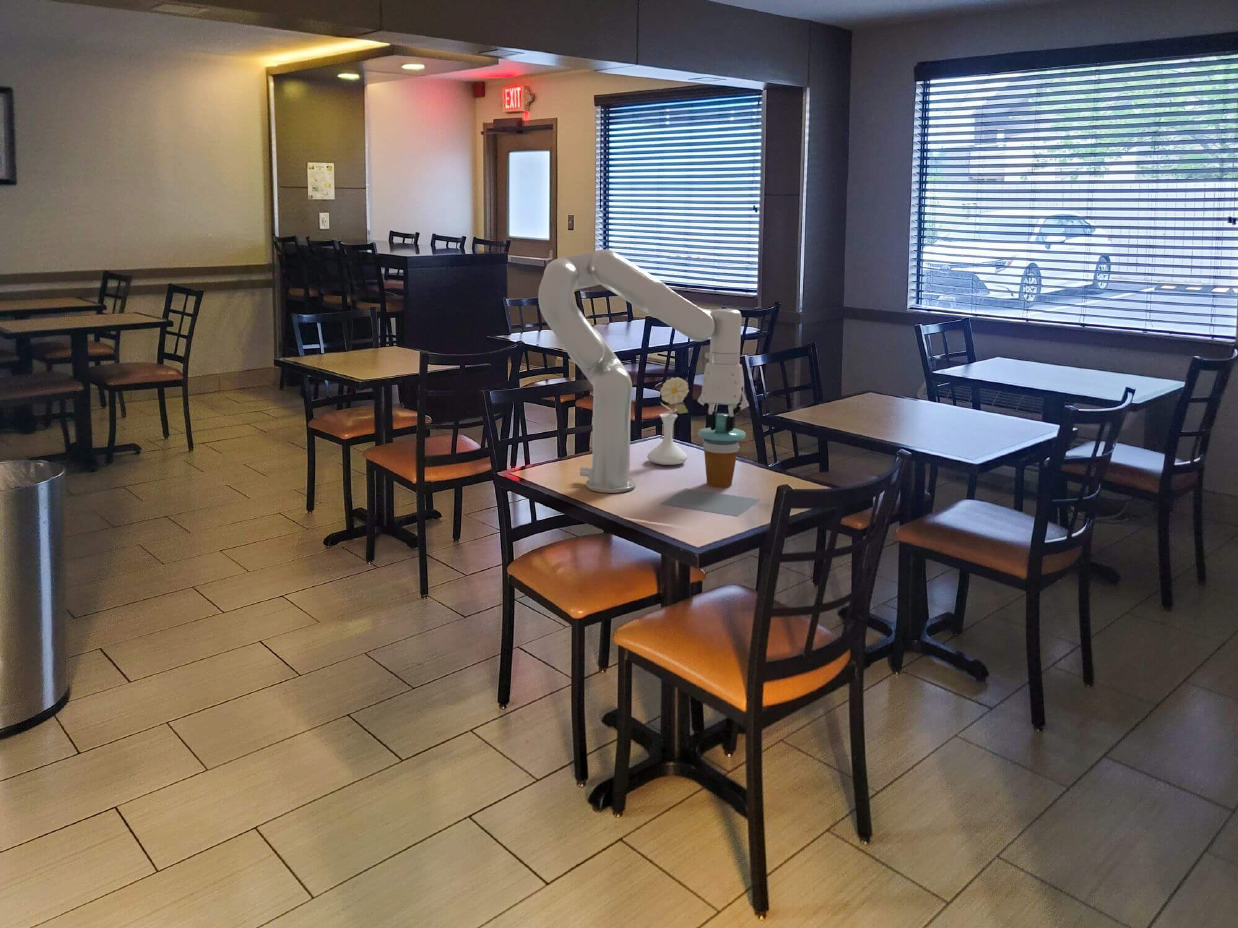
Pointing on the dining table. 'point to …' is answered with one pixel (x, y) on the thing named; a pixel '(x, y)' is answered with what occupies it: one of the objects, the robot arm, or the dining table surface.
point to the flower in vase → (670, 424)
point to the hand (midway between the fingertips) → (722, 429)
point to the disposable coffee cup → (720, 462)
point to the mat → (710, 502)
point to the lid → (721, 431)
